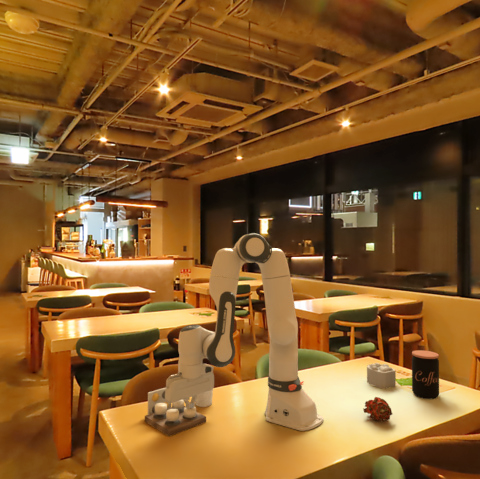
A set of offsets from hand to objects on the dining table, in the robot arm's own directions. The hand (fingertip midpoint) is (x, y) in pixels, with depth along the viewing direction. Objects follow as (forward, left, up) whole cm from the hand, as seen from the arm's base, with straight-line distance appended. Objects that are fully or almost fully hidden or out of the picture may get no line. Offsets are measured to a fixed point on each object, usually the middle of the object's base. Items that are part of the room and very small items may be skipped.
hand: (190, 407), depth 145 cm
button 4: (+8, +8, -2) cm, 11 cm away
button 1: (0, 0, -3) cm, 3 cm away
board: (+4, +4, -5) cm, 8 cm away
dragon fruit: (-46, -52, -5) cm, 70 cm away
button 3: (+8, 0, -2) cm, 8 cm away
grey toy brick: (-28, -90, -5) cm, 95 cm away
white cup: (+10, -14, -5) cm, 18 cm away
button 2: (0, +8, -2) cm, 8 cm away
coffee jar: (-49, -90, -5) cm, 103 cm away
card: (+15, +4, -5) cm, 16 cm away
